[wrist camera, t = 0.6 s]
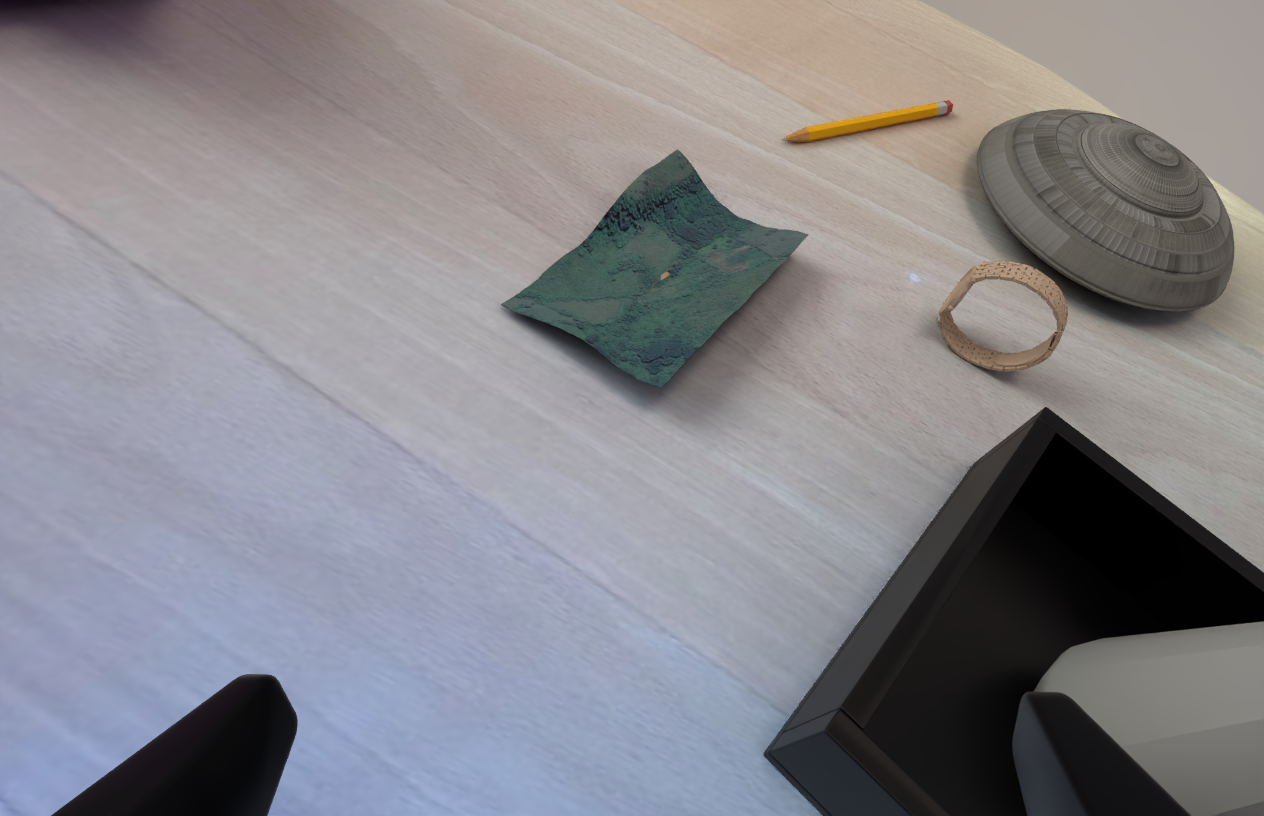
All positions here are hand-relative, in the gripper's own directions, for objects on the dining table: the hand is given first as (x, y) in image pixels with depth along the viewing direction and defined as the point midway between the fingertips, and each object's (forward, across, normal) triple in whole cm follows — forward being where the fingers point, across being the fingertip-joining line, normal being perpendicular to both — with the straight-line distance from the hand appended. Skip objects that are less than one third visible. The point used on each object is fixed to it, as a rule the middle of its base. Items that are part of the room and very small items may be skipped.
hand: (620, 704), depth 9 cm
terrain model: (+25, +2, +4) cm, 26 cm away
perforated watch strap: (+27, -12, +9) cm, 31 cm away
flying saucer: (+39, -20, +8) cm, 44 cm away
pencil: (+41, -9, +1) cm, 42 cm away
